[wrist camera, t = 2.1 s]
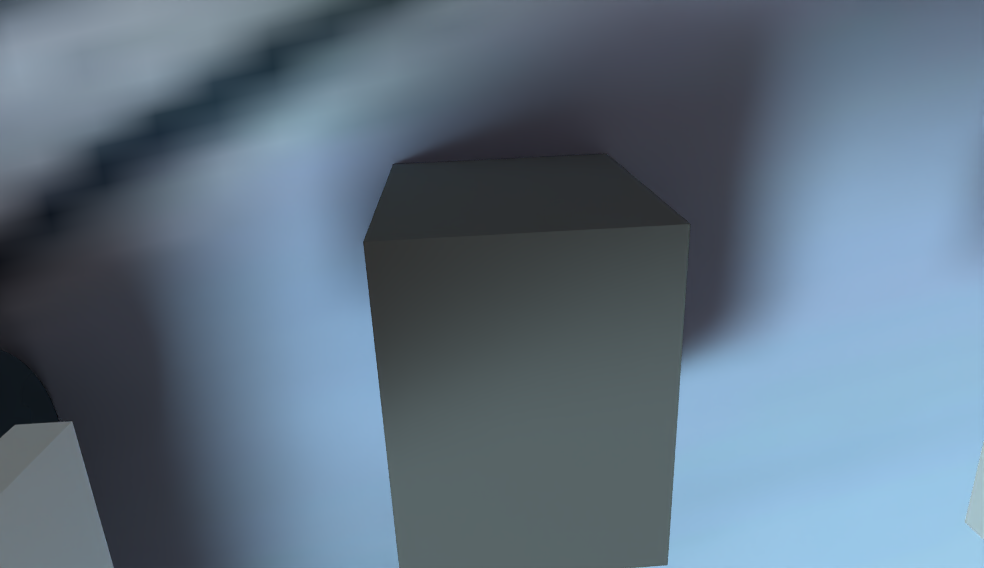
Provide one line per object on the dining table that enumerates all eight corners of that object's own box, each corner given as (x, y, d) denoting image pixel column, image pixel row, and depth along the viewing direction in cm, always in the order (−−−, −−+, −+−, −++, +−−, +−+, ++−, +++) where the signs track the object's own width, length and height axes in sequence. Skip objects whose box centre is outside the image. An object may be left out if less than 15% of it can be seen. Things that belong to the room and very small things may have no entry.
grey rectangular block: (393, 163, 14) (363, 241, 9) (605, 152, 15) (690, 223, 10) (415, 410, 17) (400, 584, 11) (600, 398, 17) (667, 564, 12)
